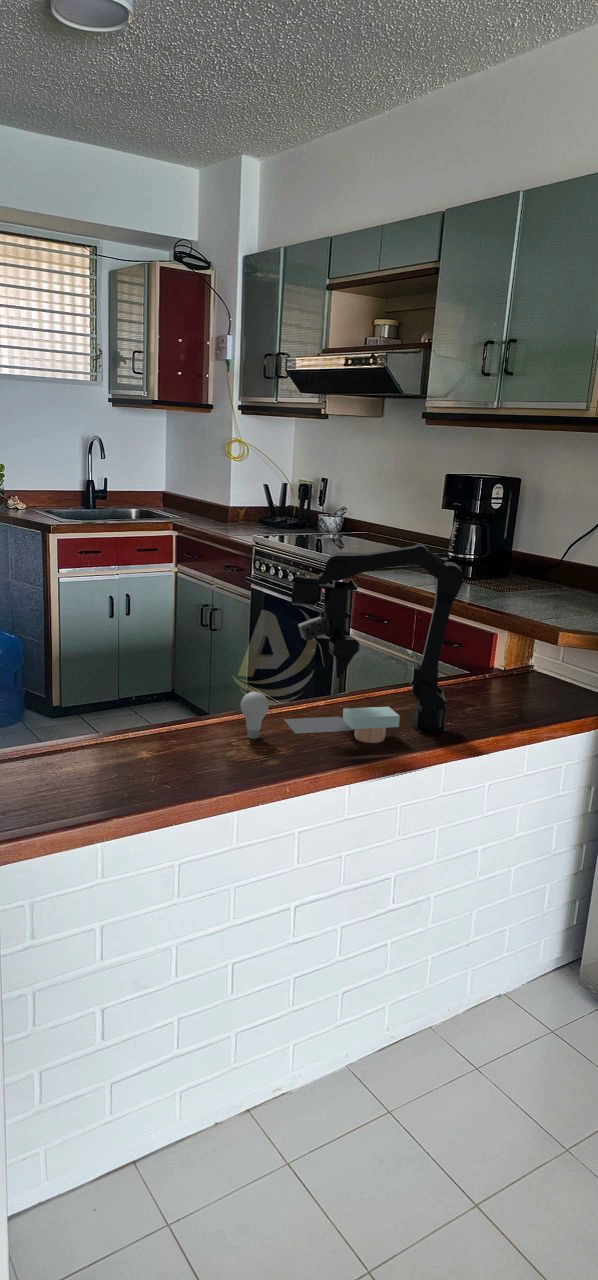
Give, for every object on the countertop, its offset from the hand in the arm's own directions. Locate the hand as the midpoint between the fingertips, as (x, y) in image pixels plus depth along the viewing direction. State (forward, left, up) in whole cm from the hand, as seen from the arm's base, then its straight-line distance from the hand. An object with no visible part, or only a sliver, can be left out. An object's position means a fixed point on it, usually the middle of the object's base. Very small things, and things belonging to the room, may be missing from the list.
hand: (332, 672), depth 205 cm
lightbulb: (+21, +10, -12) cm, 26 cm away
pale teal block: (-5, +14, -8) cm, 17 cm away
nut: (-5, +14, -12) cm, 19 cm away
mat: (+4, +4, -12) cm, 13 cm away
